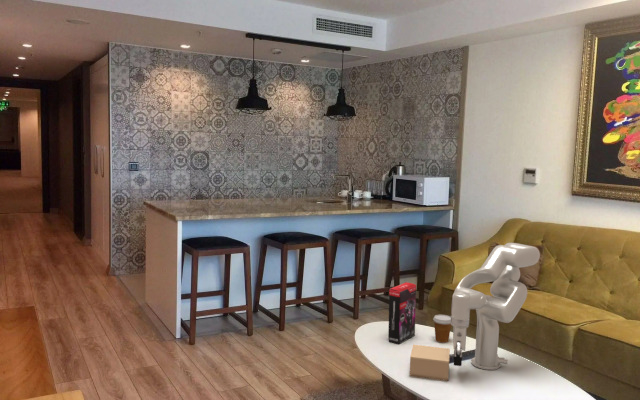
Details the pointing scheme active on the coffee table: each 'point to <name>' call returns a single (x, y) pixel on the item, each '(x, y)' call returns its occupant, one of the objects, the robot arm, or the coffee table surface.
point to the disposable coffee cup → (442, 328)
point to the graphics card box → (402, 312)
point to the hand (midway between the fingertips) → (457, 361)
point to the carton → (429, 369)
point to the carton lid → (431, 353)
